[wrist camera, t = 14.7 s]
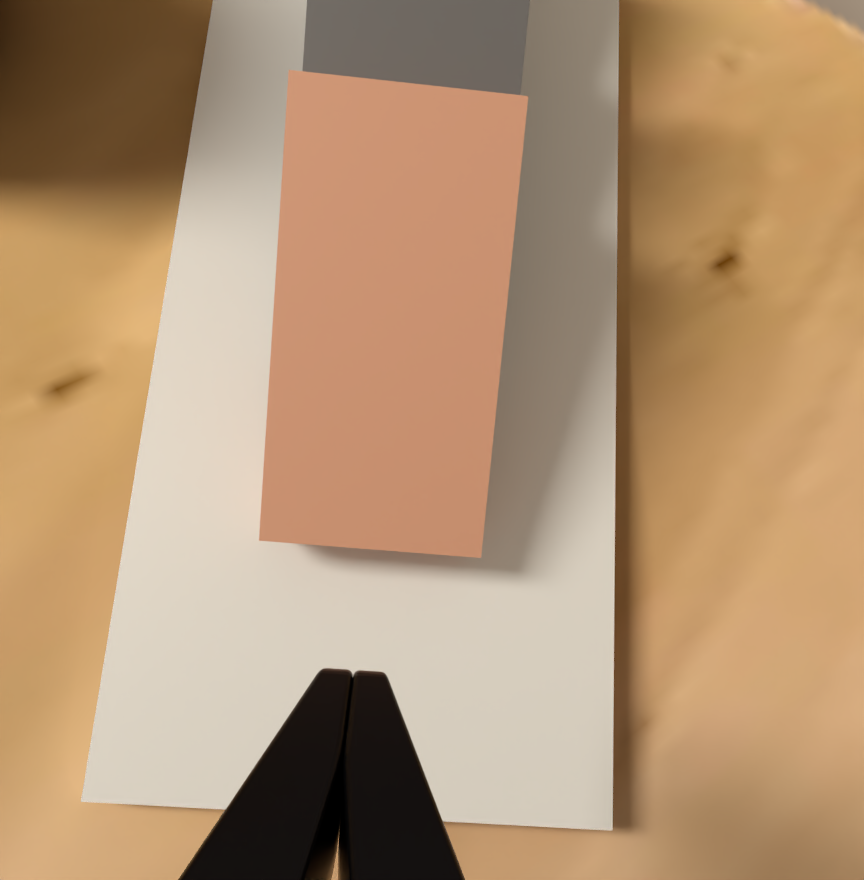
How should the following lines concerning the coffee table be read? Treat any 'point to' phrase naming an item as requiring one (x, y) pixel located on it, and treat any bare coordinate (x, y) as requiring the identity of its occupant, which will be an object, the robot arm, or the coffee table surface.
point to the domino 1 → (420, 41)
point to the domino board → (366, 570)
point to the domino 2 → (389, 313)
